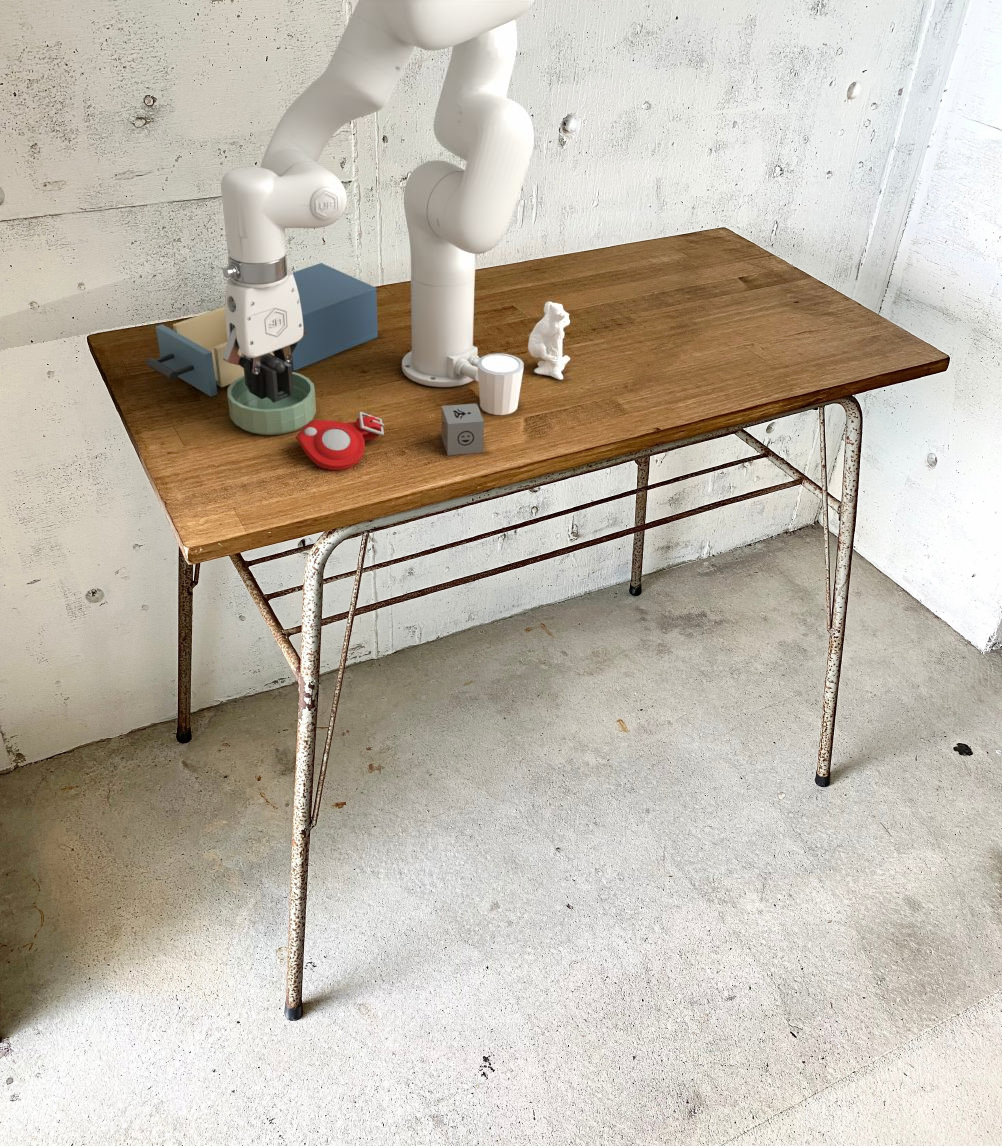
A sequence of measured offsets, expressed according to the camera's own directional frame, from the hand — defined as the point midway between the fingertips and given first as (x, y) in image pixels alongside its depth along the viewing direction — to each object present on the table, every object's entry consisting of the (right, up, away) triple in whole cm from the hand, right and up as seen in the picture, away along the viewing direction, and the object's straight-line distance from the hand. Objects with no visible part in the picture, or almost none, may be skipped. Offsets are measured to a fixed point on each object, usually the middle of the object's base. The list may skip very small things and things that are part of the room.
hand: (269, 389), depth 156 cm
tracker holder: (+11, -9, -4) cm, 15 cm away
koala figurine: (+41, +6, +17) cm, 45 cm away
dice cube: (+28, -8, -1) cm, 29 cm away
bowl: (0, -3, +3) cm, 4 cm away
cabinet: (+2, +12, +22) cm, 25 cm away
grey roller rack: (0, 0, 0) cm, 0 cm away
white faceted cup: (+33, -1, +8) cm, 34 cm away
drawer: (-10, +5, +11) cm, 16 cm away
